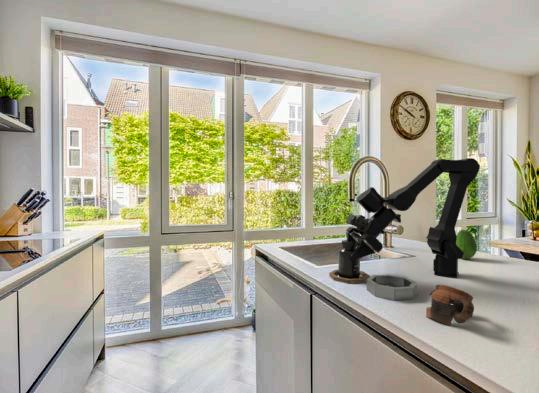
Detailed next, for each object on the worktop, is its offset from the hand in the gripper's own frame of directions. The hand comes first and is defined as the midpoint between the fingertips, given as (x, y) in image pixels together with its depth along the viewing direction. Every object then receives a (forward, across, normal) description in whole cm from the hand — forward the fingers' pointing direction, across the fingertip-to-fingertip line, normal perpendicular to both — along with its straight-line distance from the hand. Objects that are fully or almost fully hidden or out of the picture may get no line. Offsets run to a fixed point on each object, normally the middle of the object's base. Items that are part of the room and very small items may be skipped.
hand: (345, 256), depth 98 cm
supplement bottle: (+4, 0, +6) cm, 7 cm away
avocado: (-35, -20, +44) cm, 60 cm away
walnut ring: (+4, 0, +6) cm, 7 cm away
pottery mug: (-5, +33, +15) cm, 36 cm away
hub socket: (-1, +14, +11) cm, 18 cm away
